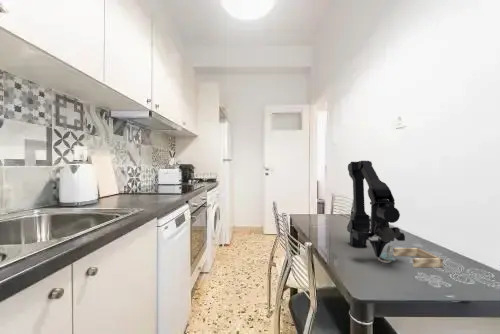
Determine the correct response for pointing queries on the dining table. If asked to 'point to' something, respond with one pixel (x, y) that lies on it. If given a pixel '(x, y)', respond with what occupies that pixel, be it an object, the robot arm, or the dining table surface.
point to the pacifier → (386, 256)
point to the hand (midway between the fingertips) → (377, 257)
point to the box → (425, 259)
